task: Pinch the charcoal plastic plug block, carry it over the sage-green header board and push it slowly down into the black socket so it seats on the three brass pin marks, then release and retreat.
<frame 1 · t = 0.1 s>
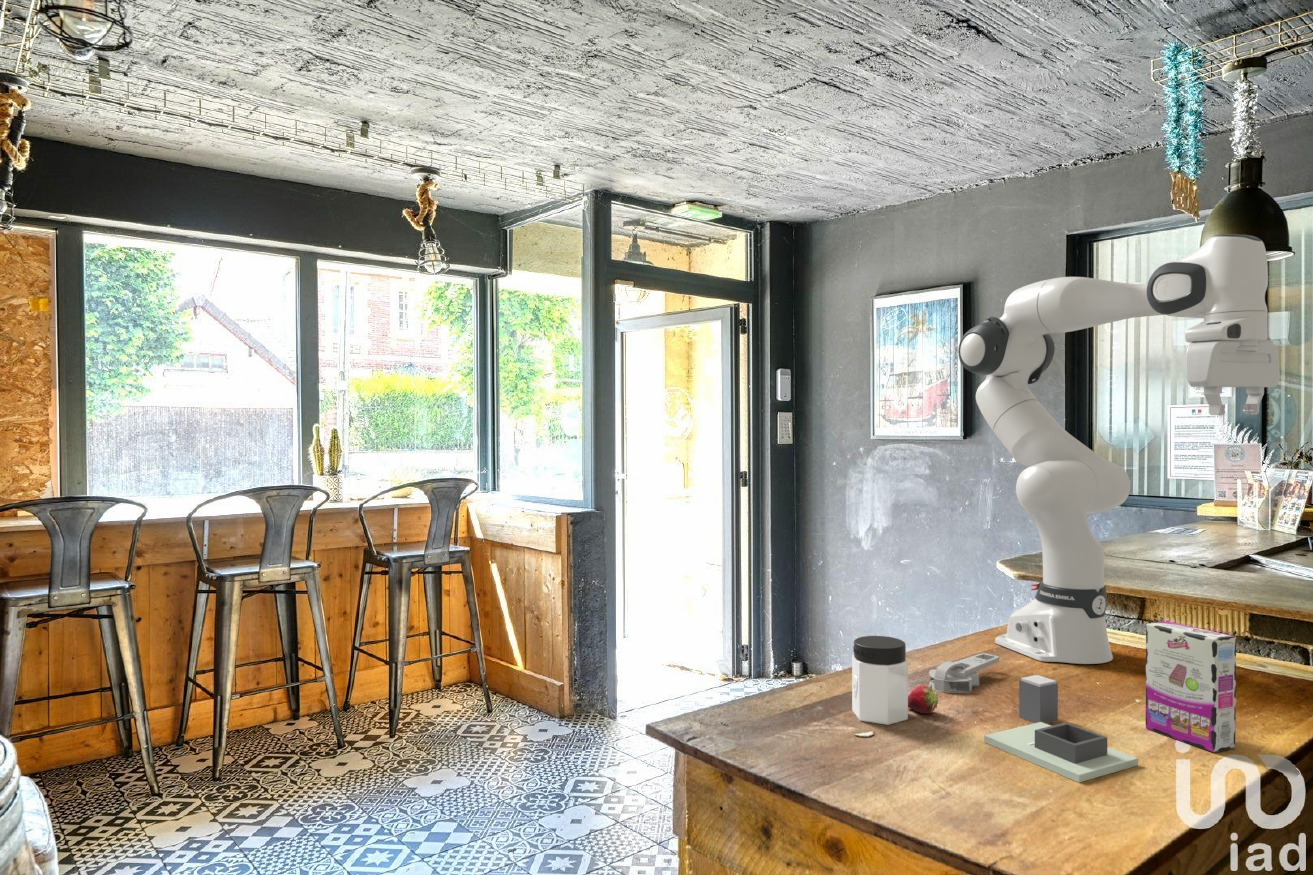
hand: (1234, 414, 146), 48 cm above the counter, fingers open, 8 cm apart
zipper pull: (965, 682, 159), on the counter
plug: (1038, 719, 139), on the counter
fruit: (921, 713, 143), on the counter
header board: (1058, 753, 125), on the counter
candy bar box: (1189, 739, 131), on the counter
jar: (879, 716, 141), on the counter
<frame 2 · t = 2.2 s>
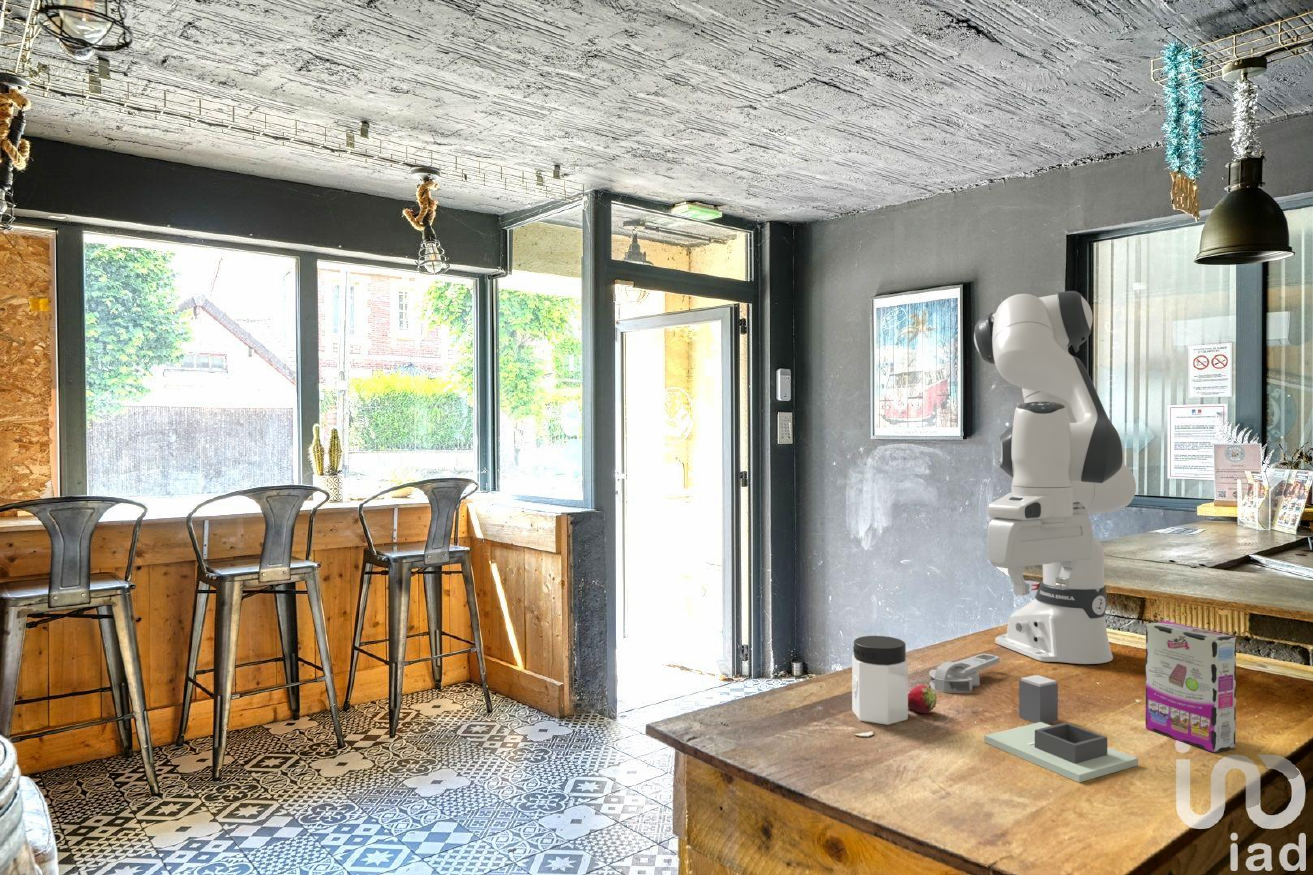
hand: (1042, 591, 139), 20 cm above the counter, fingers open, 8 cm apart
nothing on the counter moved.
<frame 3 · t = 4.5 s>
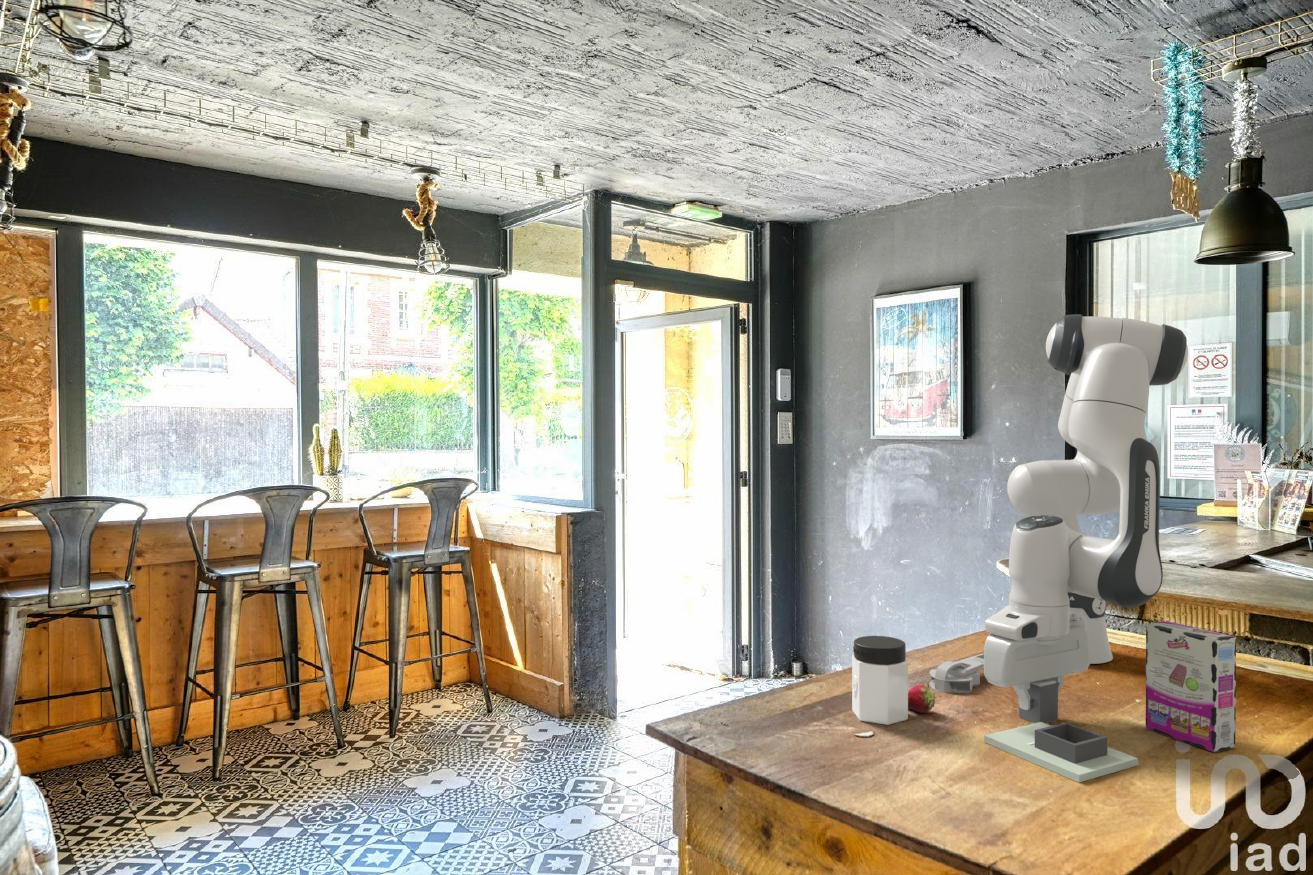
hand: (1038, 705, 139), 2 cm above the counter, fingers closed on plug, 4 cm apart
plug: (1038, 719, 139), on the counter, touching gripper
everything else where it was.
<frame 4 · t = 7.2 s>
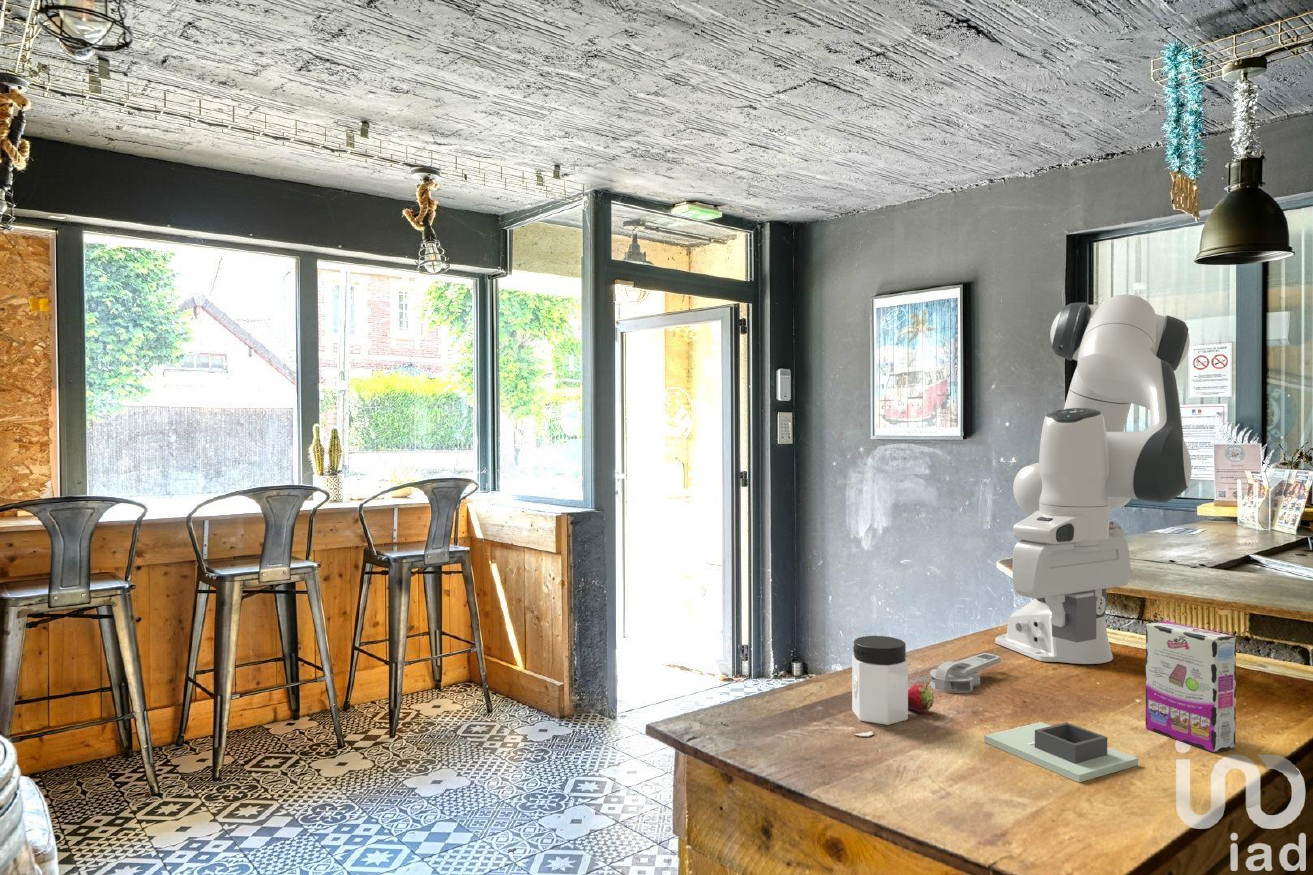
hand: (1073, 623, 123), 19 cm above the counter, fingers closed on plug, 4 cm apart
plug: (1074, 637, 123), point 17 cm above the counter, touching gripper
everything else where it was.
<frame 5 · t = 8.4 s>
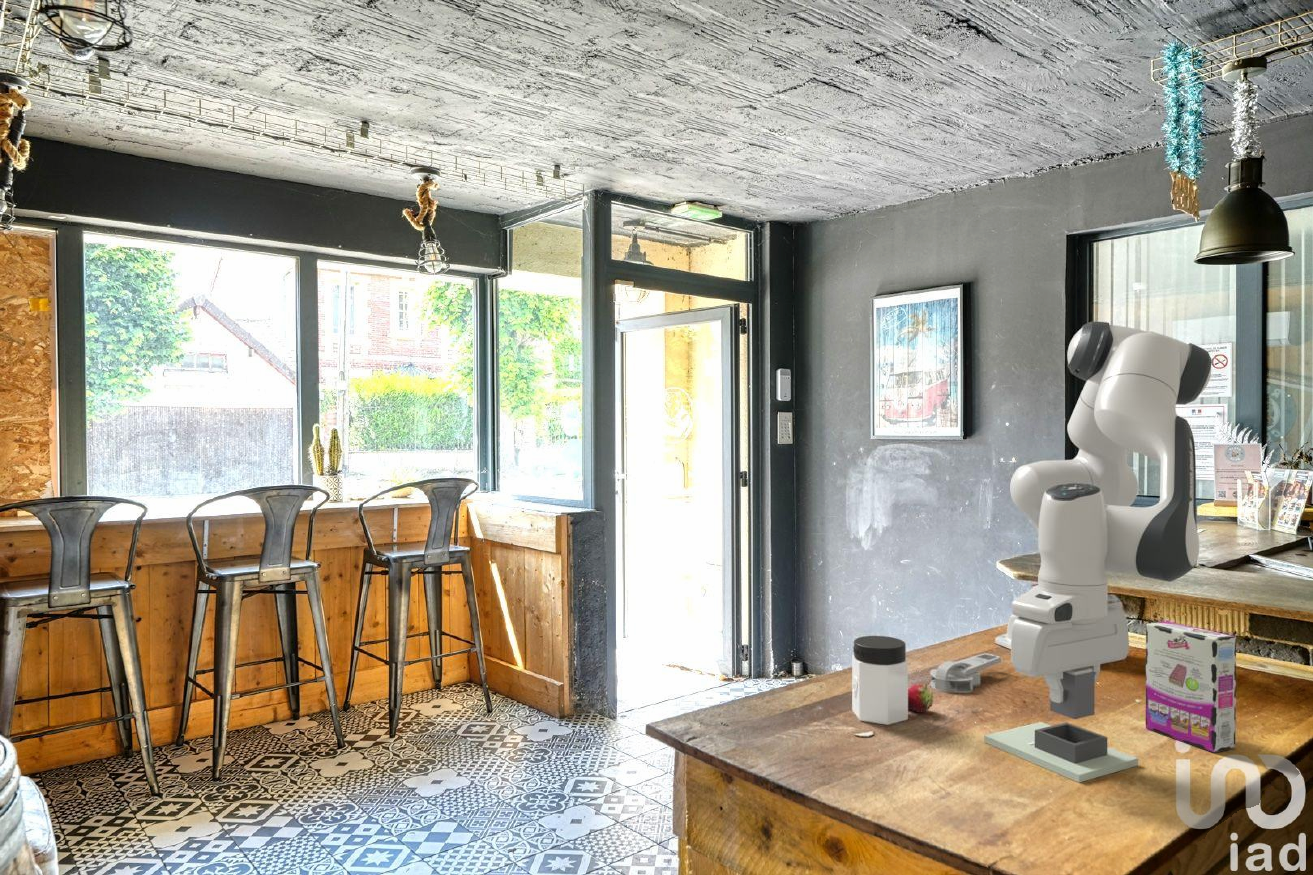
hand: (1071, 698, 123), 9 cm above the counter, fingers closed on plug, 4 cm apart
plug: (1072, 712, 123), point 7 cm above the counter, touching gripper
everything else where it was.
when the fingers open (4 cm above the counter, at t = 9.6 s): plug drops 1 cm, resting on header board.
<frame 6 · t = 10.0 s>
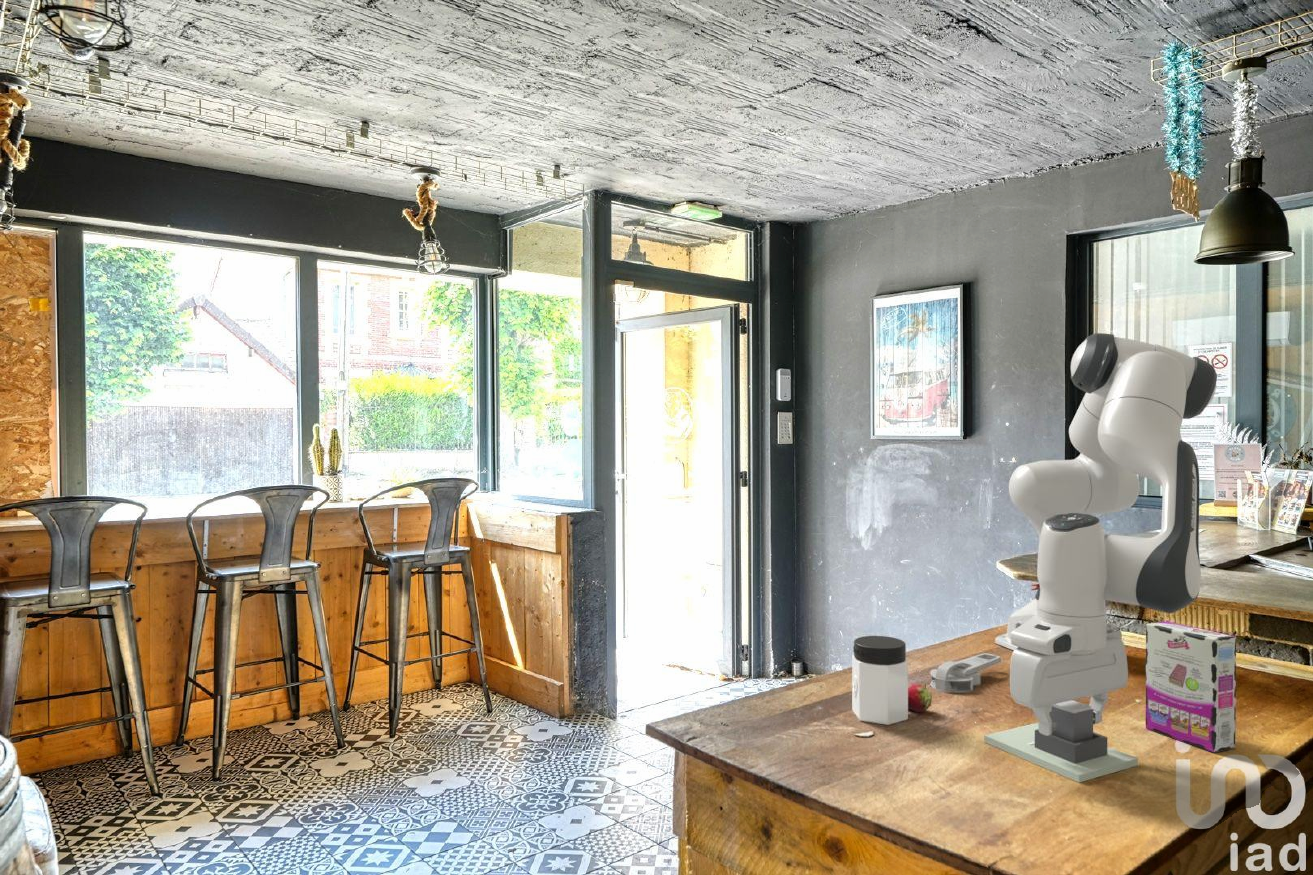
hand: (1070, 727, 123), 4 cm above the counter, fingers open, 8 cm apart
plug: (1070, 749, 123), point 1 cm above the counter, touching header board
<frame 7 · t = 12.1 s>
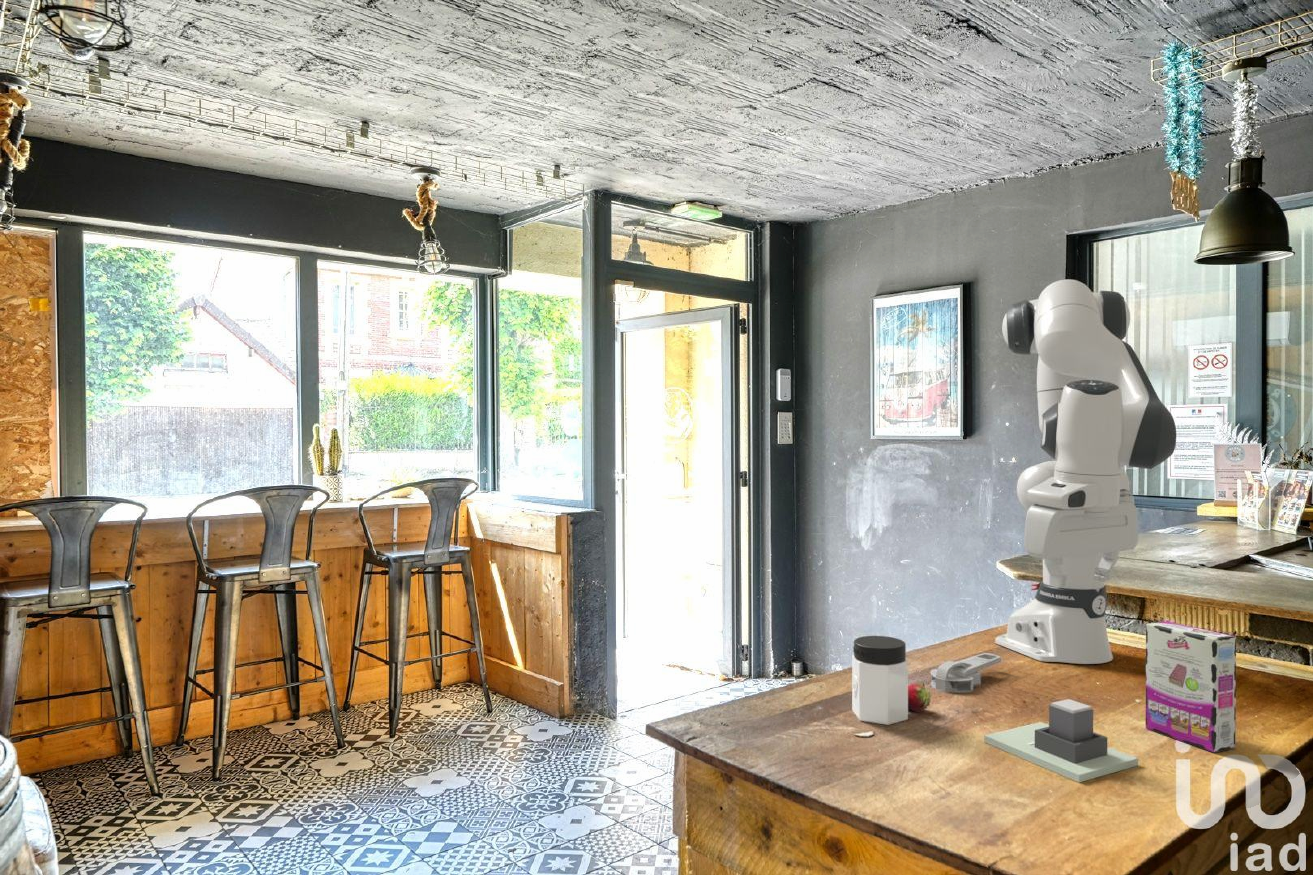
hand: (1080, 583, 130), 23 cm above the counter, fingers open, 8 cm apart
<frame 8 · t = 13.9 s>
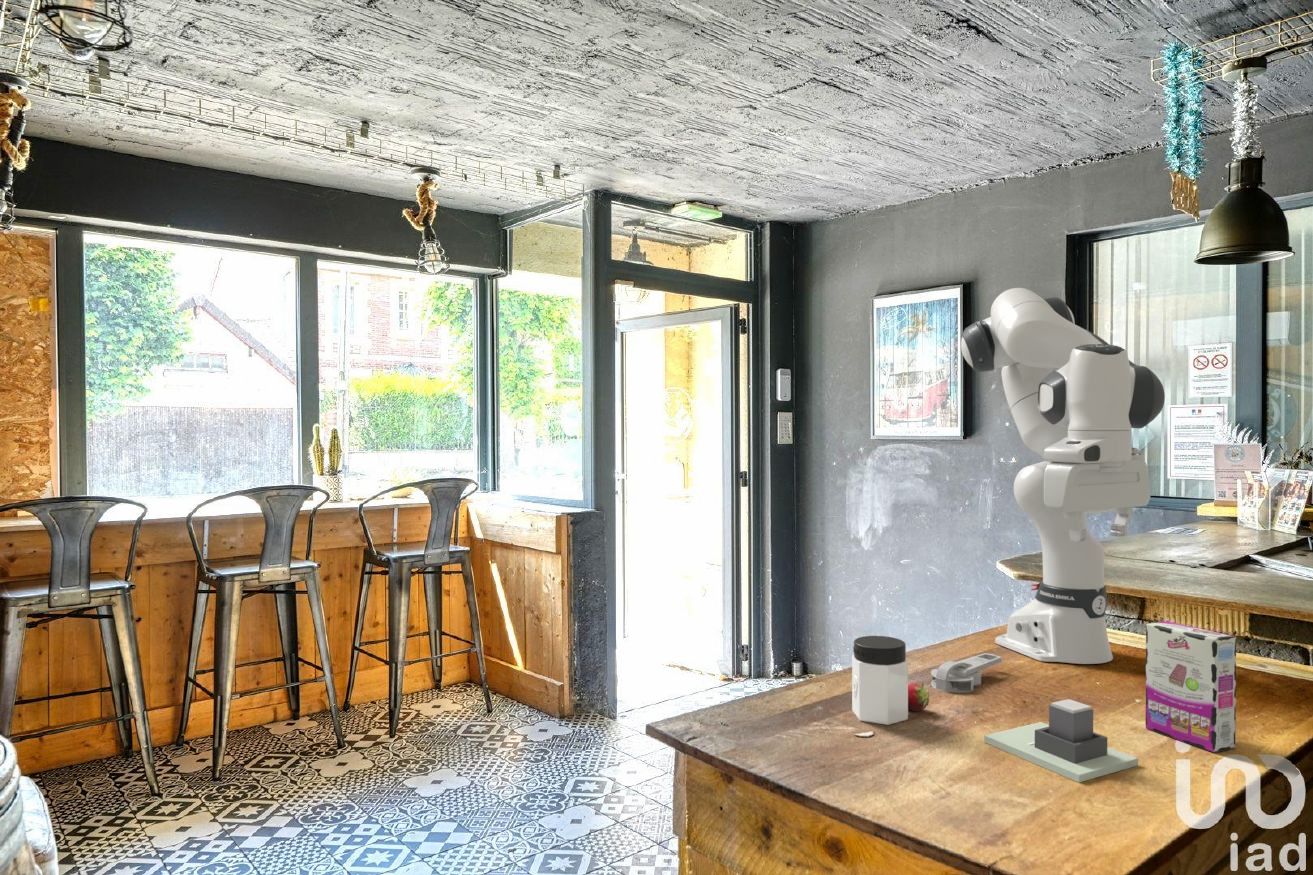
hand: (1098, 538, 136), 29 cm above the counter, fingers open, 8 cm apart
at the end: plug 0.1 cm from the target spot on the header board, point 1.2 cm above the header board's base; plug tilted 0°; the gripper is holding nothing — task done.
